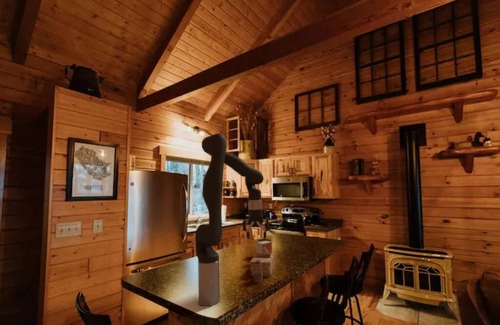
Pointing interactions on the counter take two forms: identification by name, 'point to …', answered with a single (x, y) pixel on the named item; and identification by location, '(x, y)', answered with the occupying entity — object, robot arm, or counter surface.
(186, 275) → the counter surface
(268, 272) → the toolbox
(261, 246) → the small box
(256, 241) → the plant pot
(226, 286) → the counter surface
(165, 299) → the counter surface
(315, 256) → the counter surface
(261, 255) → the lid
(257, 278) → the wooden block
